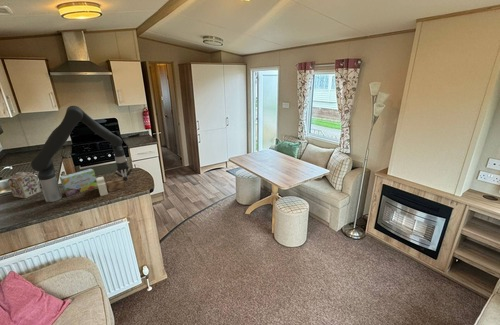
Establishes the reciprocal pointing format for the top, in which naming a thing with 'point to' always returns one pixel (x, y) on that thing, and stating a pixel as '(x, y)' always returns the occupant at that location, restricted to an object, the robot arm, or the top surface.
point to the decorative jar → (24, 184)
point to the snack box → (78, 182)
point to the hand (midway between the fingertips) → (125, 180)
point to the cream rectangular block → (102, 186)
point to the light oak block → (115, 184)
